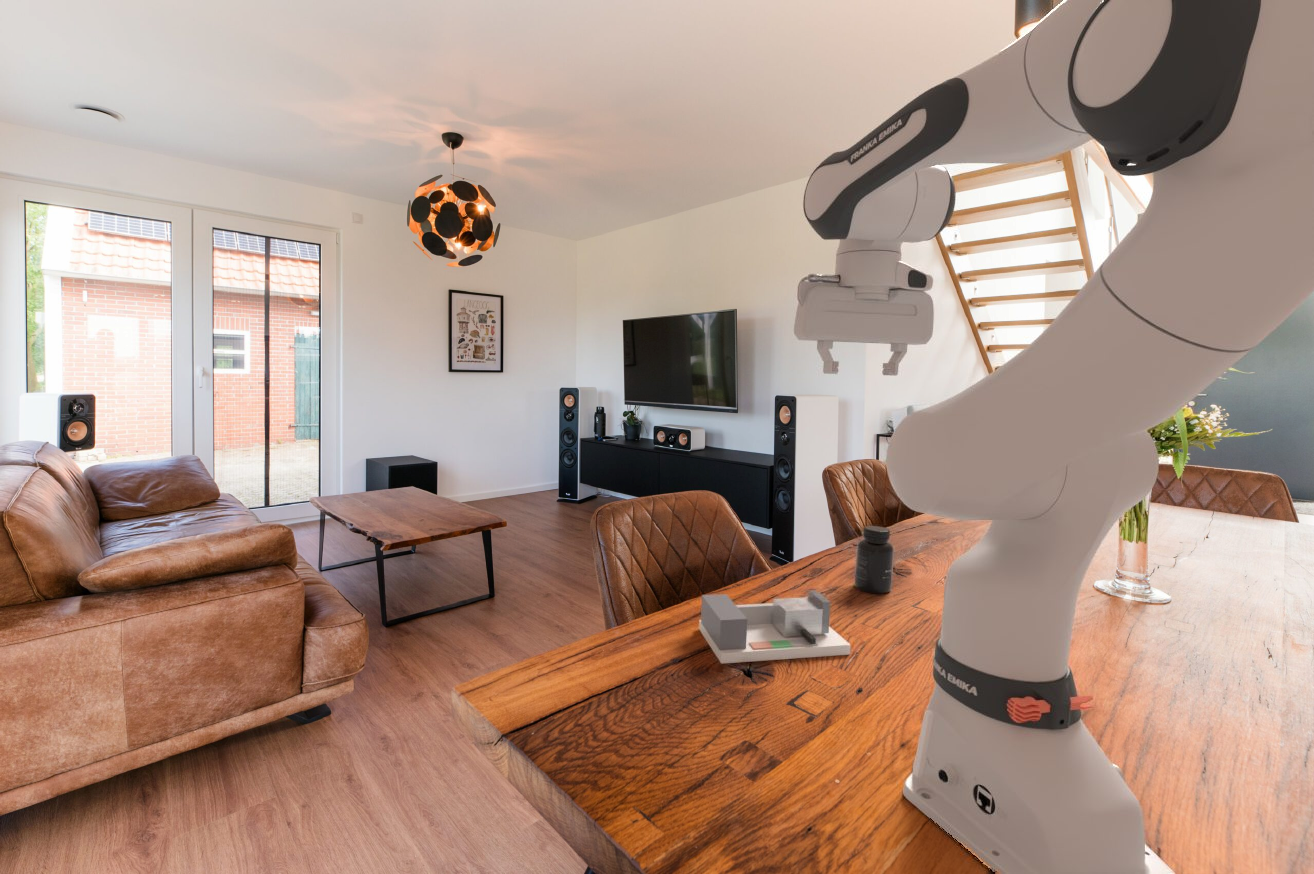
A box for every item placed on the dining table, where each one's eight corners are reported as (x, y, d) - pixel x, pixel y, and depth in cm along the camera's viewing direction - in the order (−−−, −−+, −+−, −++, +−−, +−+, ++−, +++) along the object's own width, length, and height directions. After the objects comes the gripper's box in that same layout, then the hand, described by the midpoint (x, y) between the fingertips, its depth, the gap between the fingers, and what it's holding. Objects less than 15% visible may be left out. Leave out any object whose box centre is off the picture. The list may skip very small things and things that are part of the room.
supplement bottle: (893, 596, 118) (898, 534, 116) (856, 592, 119) (860, 531, 118) (888, 584, 124) (892, 525, 123) (852, 581, 126) (856, 523, 124)
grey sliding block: (839, 643, 92) (841, 610, 91) (794, 646, 90) (795, 612, 90) (814, 620, 100) (815, 590, 100) (772, 623, 99) (773, 592, 98)
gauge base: (850, 654, 92) (852, 615, 92) (721, 663, 88) (722, 622, 88) (814, 622, 104) (816, 587, 103) (699, 628, 100) (700, 592, 99)
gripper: (808, 269, 83) (802, 373, 85) (943, 278, 87) (936, 376, 89) (789, 276, 89) (784, 372, 91) (916, 283, 94) (909, 376, 95)
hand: (860, 374), depth 90 cm, fingers open, 8 cm apart
